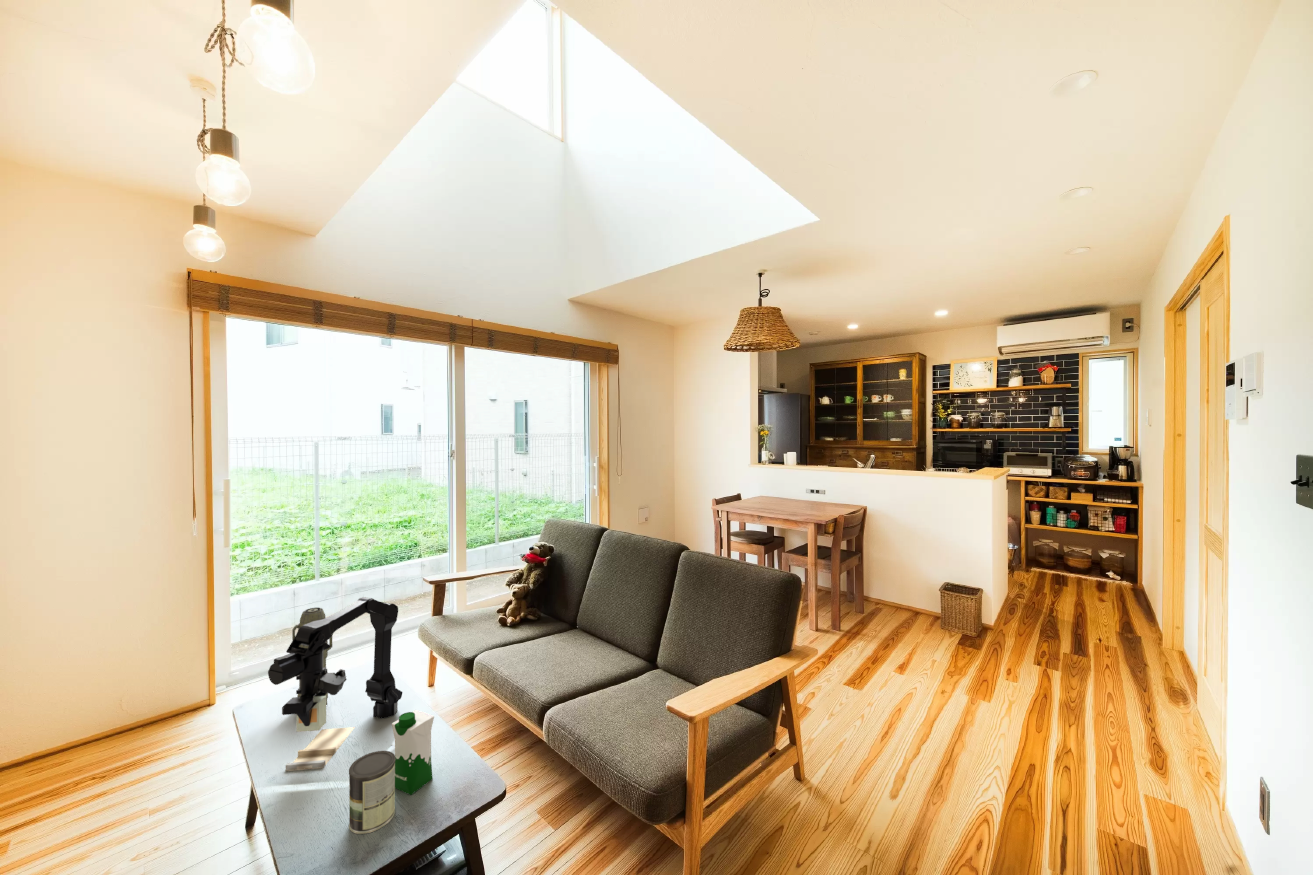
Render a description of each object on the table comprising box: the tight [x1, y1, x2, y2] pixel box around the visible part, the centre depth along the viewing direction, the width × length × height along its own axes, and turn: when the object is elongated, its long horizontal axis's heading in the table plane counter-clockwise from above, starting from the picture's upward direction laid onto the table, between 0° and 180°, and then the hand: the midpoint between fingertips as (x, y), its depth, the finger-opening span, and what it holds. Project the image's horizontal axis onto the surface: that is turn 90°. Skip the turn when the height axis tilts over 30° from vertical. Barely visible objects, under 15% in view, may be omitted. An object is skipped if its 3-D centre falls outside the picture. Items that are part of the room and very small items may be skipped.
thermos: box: [291, 607, 333, 706], centre depth 177 cm, size 9×12×35 cm
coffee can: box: [348, 750, 396, 835], centre depth 127 cm, size 10×10×14 cm
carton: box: [296, 696, 327, 733], centre depth 146 cm, size 4×6×8 cm
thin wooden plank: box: [285, 726, 356, 772], centre depth 153 cm, size 10×20×3 cm, turn 8°
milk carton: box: [391, 709, 435, 796], centre depth 139 cm, size 9×9×20 cm
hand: (311, 721), depth 146 cm, fingers closed on carton, 4 cm apart
